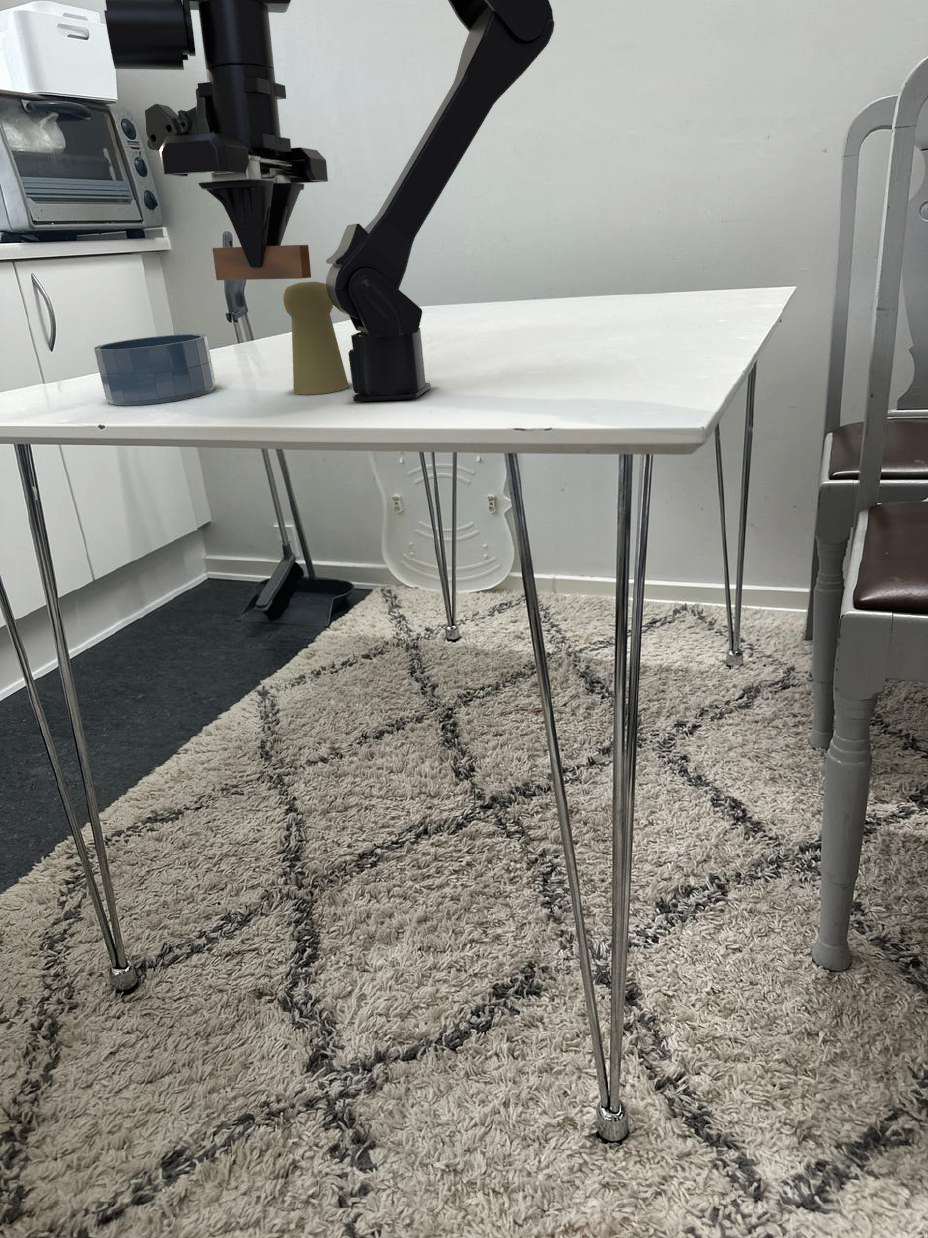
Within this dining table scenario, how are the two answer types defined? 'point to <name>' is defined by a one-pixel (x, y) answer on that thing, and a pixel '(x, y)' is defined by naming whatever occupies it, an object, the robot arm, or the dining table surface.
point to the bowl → (155, 369)
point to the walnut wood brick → (275, 263)
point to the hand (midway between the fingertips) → (262, 266)
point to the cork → (313, 340)
